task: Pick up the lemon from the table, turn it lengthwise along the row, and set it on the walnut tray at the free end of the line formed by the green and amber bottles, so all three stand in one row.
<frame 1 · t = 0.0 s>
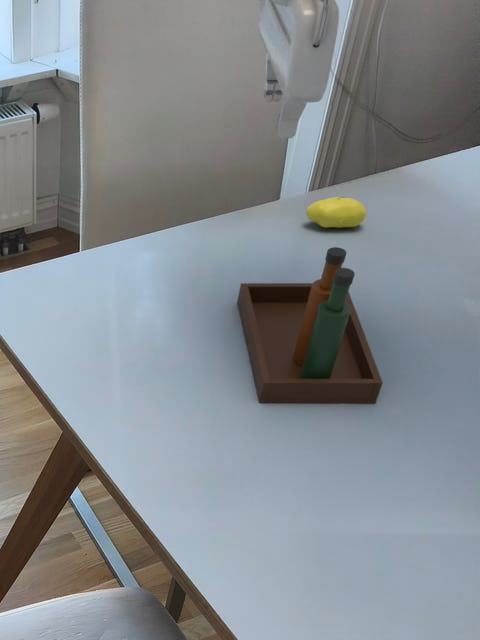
hand: (277, 116, 93), 22 cm above the table, tool pointing down, fingers open, 8 cm apart
tray: (301, 349, 103), on the table
amber bottle: (307, 360, 101), point 1 cm above the table, touching tray
lemon: (332, 227, 121), on the table
green bottle: (313, 381, 98), point 1 cm above the table, touching tray
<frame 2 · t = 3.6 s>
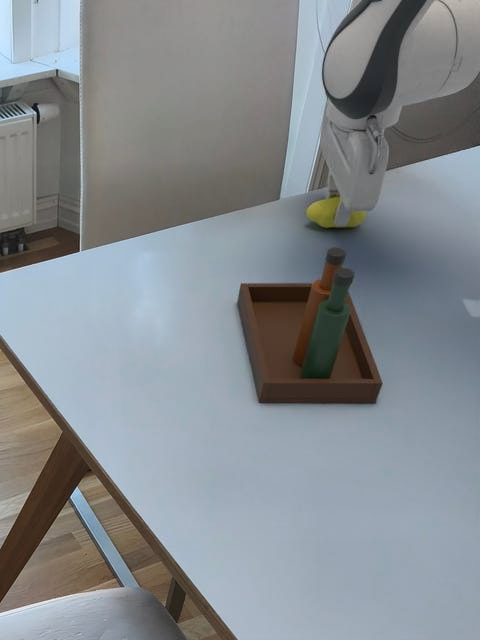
hand: (335, 213, 120), 2 cm above the table, tool pointing down, fingers closed on lemon, 4 cm apart
lemon: (332, 227, 121), on the table, touching gripper
everything else where it was.
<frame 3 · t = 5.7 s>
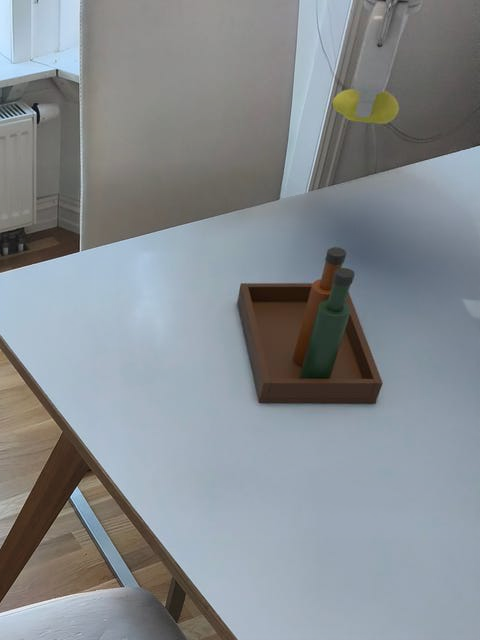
hand: (365, 106, 110), 15 cm above the table, tool pointing down, fingers closed on lemon, 4 cm apart
lemon: (360, 123, 111), point 13 cm above the table, touching gripper
everything else where it was.
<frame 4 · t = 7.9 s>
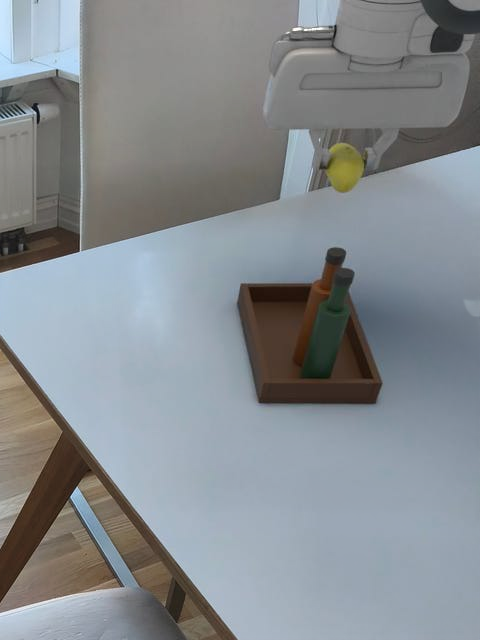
hand: (344, 168, 100), 15 cm above the table, tool pointing down, fingers closed on lemon, 4 cm apart
lemon: (339, 185, 101), point 13 cm above the table, touching gripper
everything else where it was.
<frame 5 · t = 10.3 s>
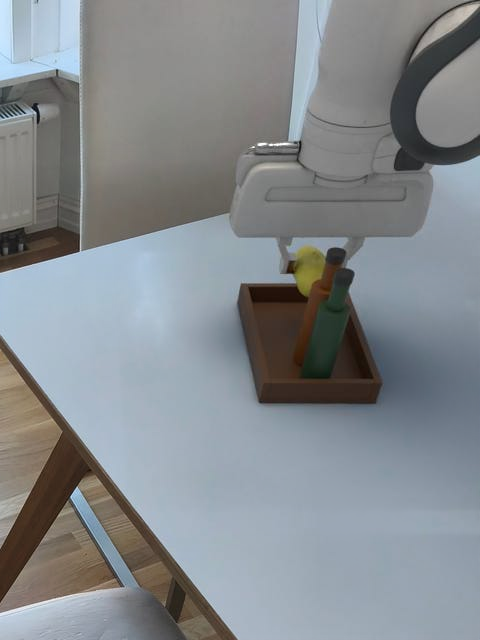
hand: (311, 271, 100), 7 cm above the table, tool pointing down, fingers closed on lemon, 4 cm apart
lemon: (306, 287, 101), point 6 cm above the table, touching gripper
everything else where it was.
when the fingers open (2 cm above the table, at t = 12.2 s): lemon stays where it is, resting on tray.
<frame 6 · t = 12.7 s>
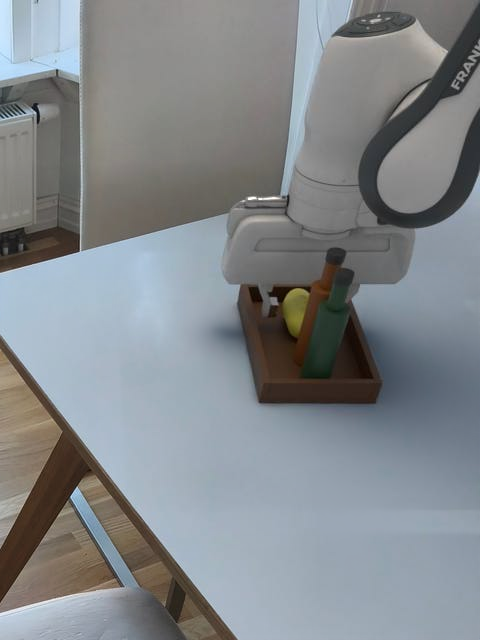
hand: (300, 315, 104), 2 cm above the table, tool pointing down, fingers open, 6 cm apart
lemon: (296, 328, 105), resting on tray
everything else where it was.
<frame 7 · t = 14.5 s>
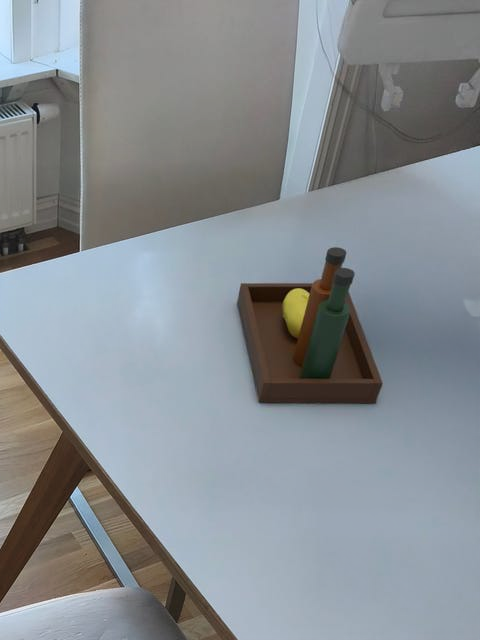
hand: (426, 107, 90), 23 cm above the table, tool pointing down, fingers open, 6 cm apart
nothing on the table moved.
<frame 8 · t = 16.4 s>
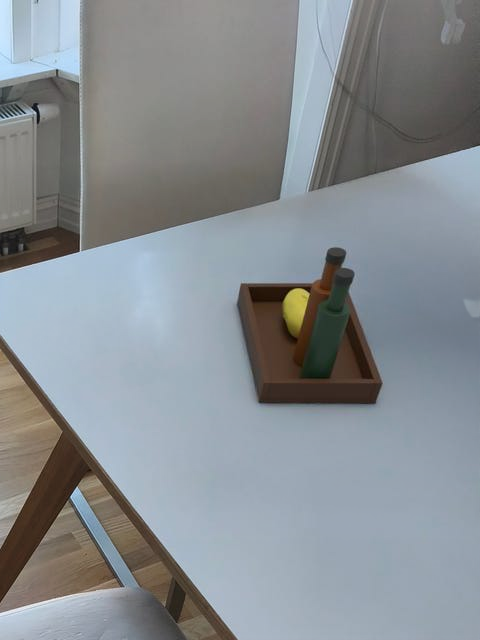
nothing on the table moved.
at the end: lemon 0.4 cm from the target spot on the tray, point 0.4 cm above the tray's base; the gripper is holding nothing; green bottle tilted 0° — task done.
